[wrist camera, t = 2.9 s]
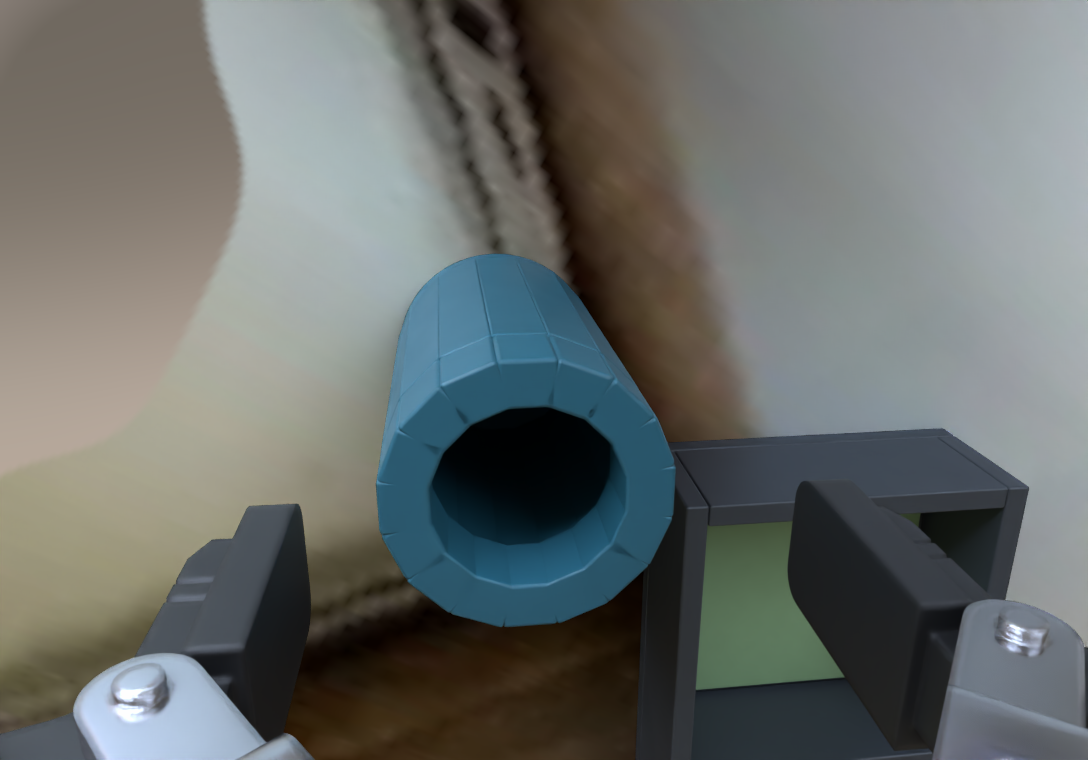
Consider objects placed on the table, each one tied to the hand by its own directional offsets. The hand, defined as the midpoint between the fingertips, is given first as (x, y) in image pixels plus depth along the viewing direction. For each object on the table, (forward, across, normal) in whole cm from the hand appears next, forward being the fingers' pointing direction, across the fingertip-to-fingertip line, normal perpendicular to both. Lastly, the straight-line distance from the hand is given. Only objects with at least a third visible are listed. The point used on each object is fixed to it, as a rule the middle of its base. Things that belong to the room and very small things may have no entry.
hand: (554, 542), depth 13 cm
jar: (+10, 0, 0) cm, 10 cm away
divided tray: (+10, -9, +12) cm, 18 cm away
